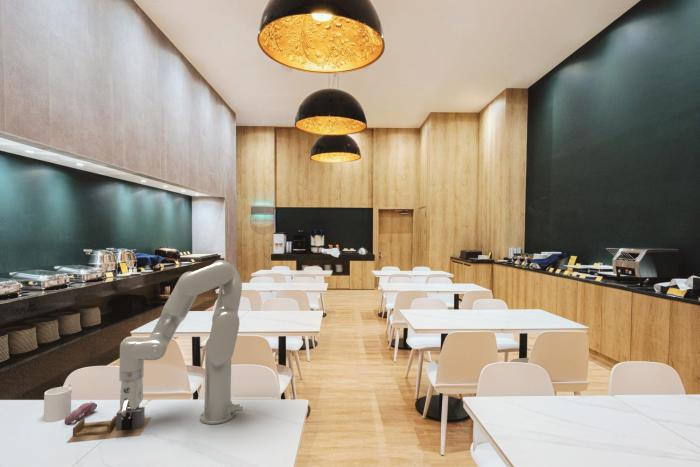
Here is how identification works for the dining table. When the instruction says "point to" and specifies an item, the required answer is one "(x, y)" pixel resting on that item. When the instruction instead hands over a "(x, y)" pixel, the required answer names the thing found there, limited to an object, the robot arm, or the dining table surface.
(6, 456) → the dining table surface
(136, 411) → the dark grey box
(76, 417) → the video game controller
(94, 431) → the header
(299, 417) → the dining table surface
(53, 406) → the cup
